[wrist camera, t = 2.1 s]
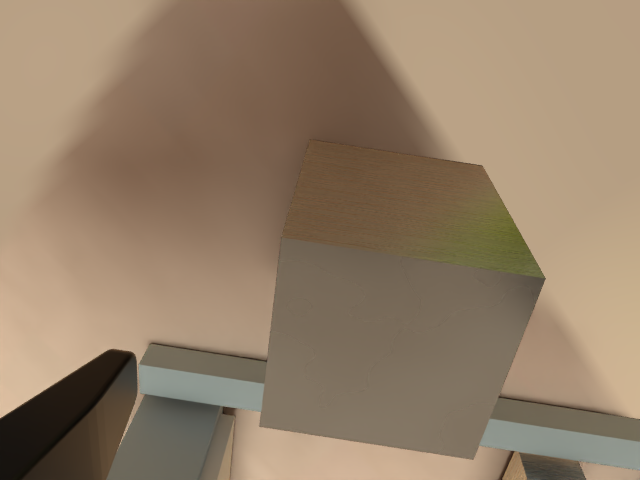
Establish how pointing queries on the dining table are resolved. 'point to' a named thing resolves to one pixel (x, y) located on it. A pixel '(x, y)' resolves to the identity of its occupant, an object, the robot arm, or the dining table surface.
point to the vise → (247, 393)
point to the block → (395, 301)
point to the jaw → (542, 468)
